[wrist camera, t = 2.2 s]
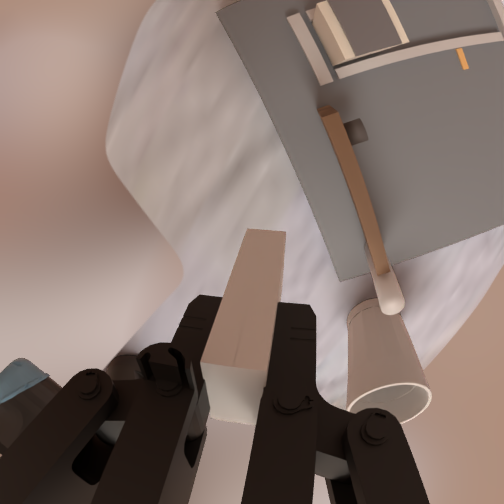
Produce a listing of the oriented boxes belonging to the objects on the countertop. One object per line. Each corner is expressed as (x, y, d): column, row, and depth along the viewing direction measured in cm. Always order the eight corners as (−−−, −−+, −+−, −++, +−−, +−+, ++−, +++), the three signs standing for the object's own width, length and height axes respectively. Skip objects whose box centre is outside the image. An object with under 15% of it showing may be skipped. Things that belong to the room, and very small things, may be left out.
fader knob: (332, 66, 20) (346, 59, 14) (312, 24, 18) (317, 1, 12) (380, 51, 18) (411, 41, 12) (360, 10, 17) (383, -16, 11)
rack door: (364, 236, 26) (377, 276, 21) (316, 109, 22) (322, 117, 16) (389, 227, 25) (408, 265, 20) (345, 98, 21) (360, 104, 16)
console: (338, 270, 31) (347, 343, 22) (221, 16, 20) (178, -14, 12) (532, 200, 23) (586, 247, 14) (463, -43, 12) (517, -73, 4)
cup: (401, 282, 31) (431, 371, 20) (410, 332, 34) (431, 415, 24) (331, 304, 33) (336, 397, 23) (348, 350, 37) (355, 435, 26)
